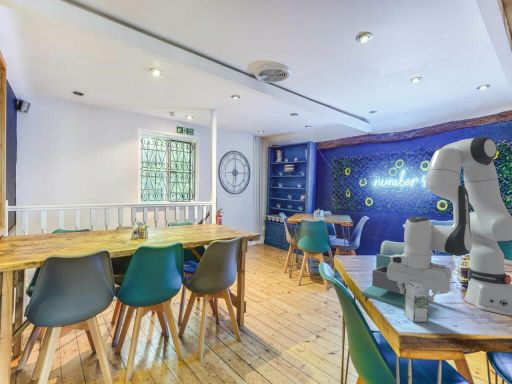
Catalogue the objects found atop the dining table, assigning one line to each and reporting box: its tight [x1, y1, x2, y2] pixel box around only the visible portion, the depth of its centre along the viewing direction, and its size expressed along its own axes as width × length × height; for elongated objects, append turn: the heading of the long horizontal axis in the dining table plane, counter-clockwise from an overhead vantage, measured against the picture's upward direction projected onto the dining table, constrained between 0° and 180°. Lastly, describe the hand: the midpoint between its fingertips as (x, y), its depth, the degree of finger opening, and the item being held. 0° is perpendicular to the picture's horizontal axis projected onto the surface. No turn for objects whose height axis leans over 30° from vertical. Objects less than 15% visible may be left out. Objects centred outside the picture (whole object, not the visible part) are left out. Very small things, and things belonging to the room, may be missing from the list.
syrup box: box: [403, 280, 430, 323], centre depth 99 cm, size 6×6×14 cm
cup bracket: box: [361, 253, 405, 309], centre depth 120 cm, size 20×18×16 cm
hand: (416, 297), depth 99 cm, fingers closed on syrup box, 8 cm apart
